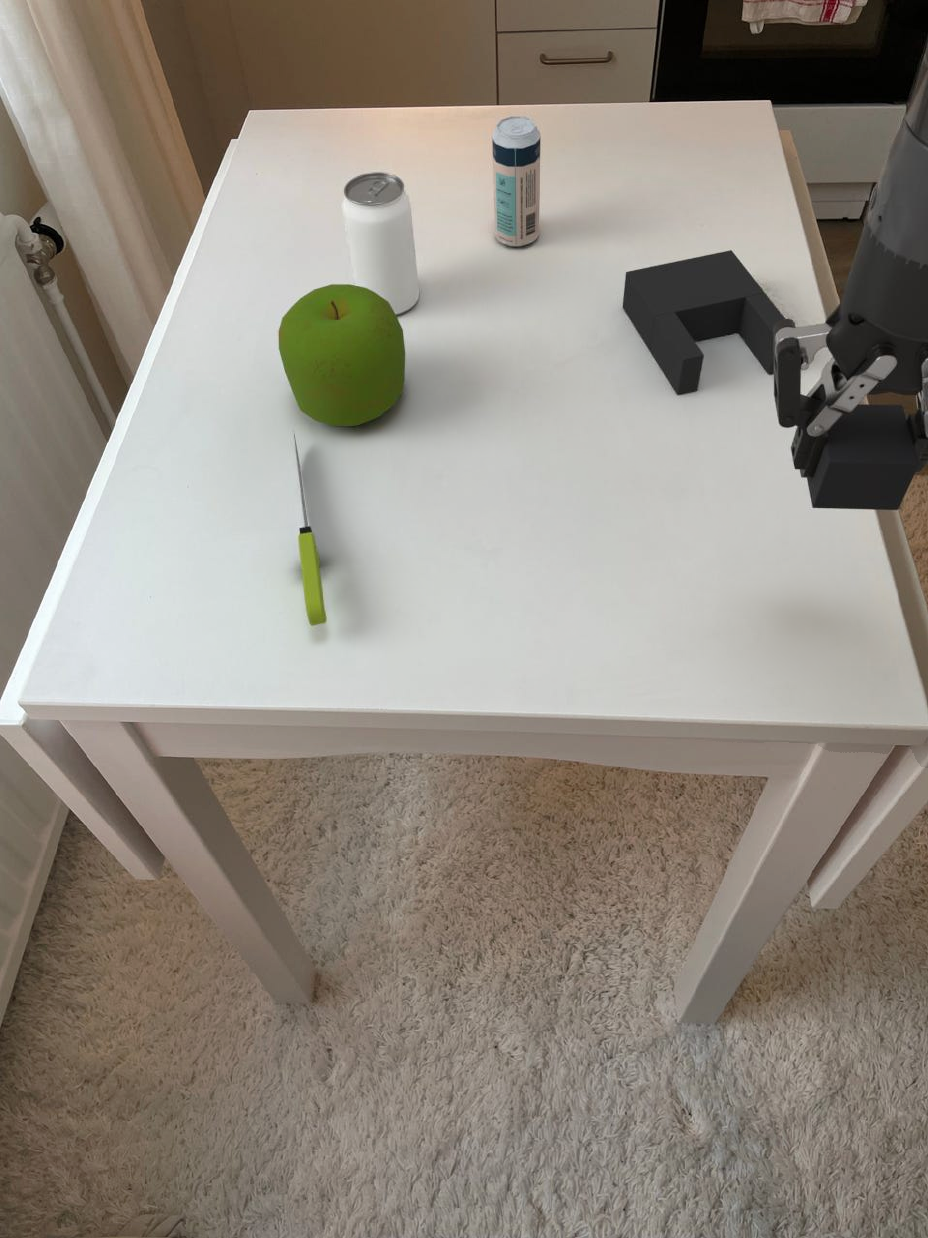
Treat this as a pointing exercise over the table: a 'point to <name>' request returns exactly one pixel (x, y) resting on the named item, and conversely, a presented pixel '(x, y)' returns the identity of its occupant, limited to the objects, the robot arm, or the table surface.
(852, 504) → the black block
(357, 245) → the can
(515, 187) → the beer can
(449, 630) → the table surface
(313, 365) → the apple
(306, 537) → the kitchen knife
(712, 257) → the black flat forked piece
